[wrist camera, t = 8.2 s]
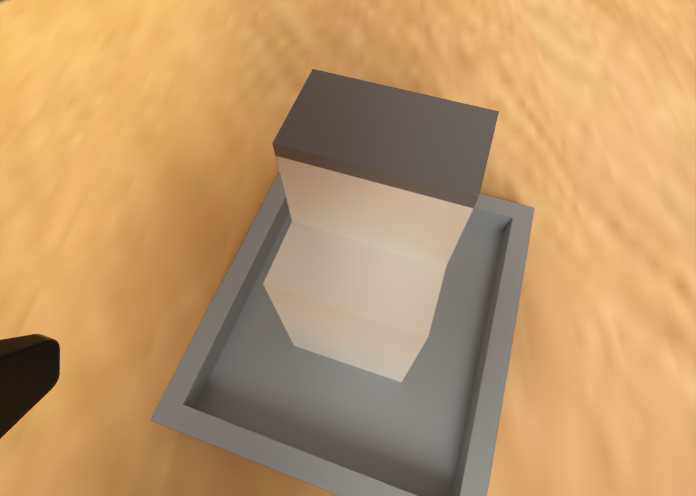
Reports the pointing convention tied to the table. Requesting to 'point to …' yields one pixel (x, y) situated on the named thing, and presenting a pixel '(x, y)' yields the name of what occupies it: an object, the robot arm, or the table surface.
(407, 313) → the grey-topped stepped block
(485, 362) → the tray
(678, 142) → the table surface
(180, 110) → the table surface
